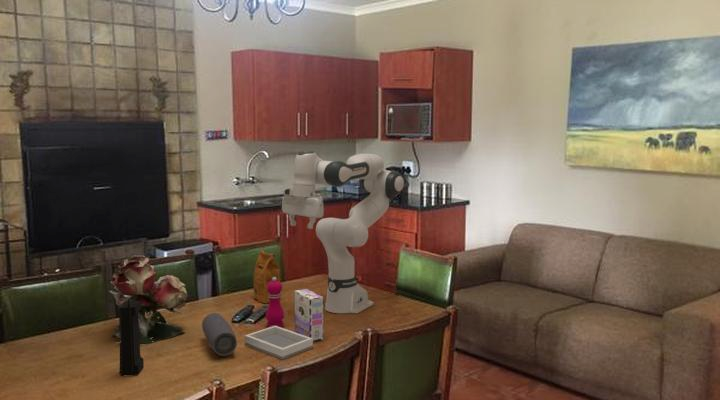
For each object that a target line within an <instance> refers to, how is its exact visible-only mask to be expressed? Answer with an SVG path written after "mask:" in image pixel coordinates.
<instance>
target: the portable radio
mask: <svg viewBox="0 0 720 400" xmlns="http://www.w3.org/2000/svg"><path fill="white" fill-rule="evenodd" d="M129 300H130V299H128V301H126V302H125V303H124V304H123V305H122V306H120V307H119V308H118V321H119V324H118V325H120V332H121V338H120V341H121V343H120V345H119V375H120V376H121V377H124V375H133V376H138V374H139V373H141V372H142V371H141V370H143V369H144V367H145V366H144V358H143V357H142V356H141V345H140V339H139V317H138V312H139V311H140V310H141V302H140V301H129ZM139 375H140V374H139Z"/></svg>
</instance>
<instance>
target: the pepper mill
mask: <svg viewBox="0 0 720 400" xmlns="http://www.w3.org/2000/svg"><path fill="white" fill-rule="evenodd" d="M276 280H277V278H276V277H273V278H272V281H271V282H269V283H268V285H267V291H268V292H269V293H268V295H269V296H268V297H269V299H270V302H268V307H267V309H266V313H265V319H266V320H267V322H266V327H267V328H269V327H272V326H278V327H281V328H284V321H283V319H284V318H285V312H284V309H283V307H282V305H281V297H282V293H281V292H282V290H283V283H281V281H280V282H279V281H276Z"/></svg>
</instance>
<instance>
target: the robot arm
mask: <svg viewBox="0 0 720 400" xmlns="http://www.w3.org/2000/svg"><path fill="white" fill-rule="evenodd" d="M384 168H385V163H384V160H383V158H382V157H381V156H380V155H378V154H375V153H357V154H355V155H352V156H350V157H348V159H347V160H346V162H344V161H343V160H342V161H341V160H337V161H336V160H333V161H332V160H323V159H322V158H320V157H319V156H318V155H317V154H316V152H315V151H314V150H303V151H299V152H298V153H297V154H296V155H295V158H294V164H293V176H294V177H293V178H294V179H293V182H292V186H290V187H287V188H284V189H283V191H282V192H283V197H282V201H281V211H282V213H283V214H288V218H289V221H290V223H289V224H290V226H291V227H292V226H293V227H296V226H297V221H296V220H295V217H296V216H302V217H306V218H308V219H309V223H307V224H306V228H307V229H308V230H312V229H314V224H315V223H316V219H319V221H318V222H317V223H316V226H315V234H316V237H317V239H318V240H320V242H321V243H322V244H323V245H322V246H323V248H324V250H325V253H326V256H327V264H328V276H327V289H326V290H327V291H326V299H325V302H324V305H325V306H324V310H325V311H327V312H329V313H334V314H359V313H360V312H362V311H364V310H366V309H369V307H371V306H373V305H374V302H373V301H372V300H370V299H369V295H368V291H367V290H366V289H365V288H363V286H361V285H360V284H358V282H357V281H359V282H360V281H361V280H362V276H361V275H355V258H354V256H353V255H352V253H350V251H349V249H348V248H361V247H362V246H364V245H365V244H366V242H368V238H369V230H368V229H369V228H370V227H371V226H373V224H375V223H376V222H377V221H378V220H379V219H381V218H382V216H384V215H385V213H386V212H387V211H388V209H389V207H390V201H389V200H394V199H396V197H397V196H398V195H400V193H402V191H403V190H404V188H405V178H404V175H403V174H401V173H400V172H398V171H395V170H387V169H384ZM352 180H358V185H359V187H360V189H361V190H362V191H363V192H365V193H370V194H369V195H368V196H367V197H365V198H364V199H363V200H361V201H360V202H358V203H357V204H356V205H354V206H353V207H352V208H351V209H350V210H349V213H348V218H338V217H337V218H336V217H325V218H323V217H324V198H323V196H322V195H321V194H320V193H316V185H325V186H331V187H337V188H339V187H343V186H345V185H346V184H347V183H348V182H349V181H352ZM347 247H348V248H347Z"/></svg>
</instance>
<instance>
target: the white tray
mask: <svg viewBox="0 0 720 400" xmlns="http://www.w3.org/2000/svg"><path fill="white" fill-rule="evenodd" d="M244 345H245V346H247V347H249V348H252V349H255V350H257V351H260V352H262V353H265V354H267V355H269V356H272V357H275V358H277V359H279V360H282V361H283V360H285V359H288V358H290V357H293V356H296V355H298V354H300V353H303V352H304V353H305V352H307V351H308V350H312V349H313V348H314V341H313V338H310V337H307V336H304V335H301V334H298V333H296V332H295V331H293V330H290V329H287V328H284V327H282V328H281V327H278V326H272V327H269V328H268V327H267V328H263V329H261V330H258V331H255V332H254V331H253V332H251V333H248V334H245V335H244Z"/></svg>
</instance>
